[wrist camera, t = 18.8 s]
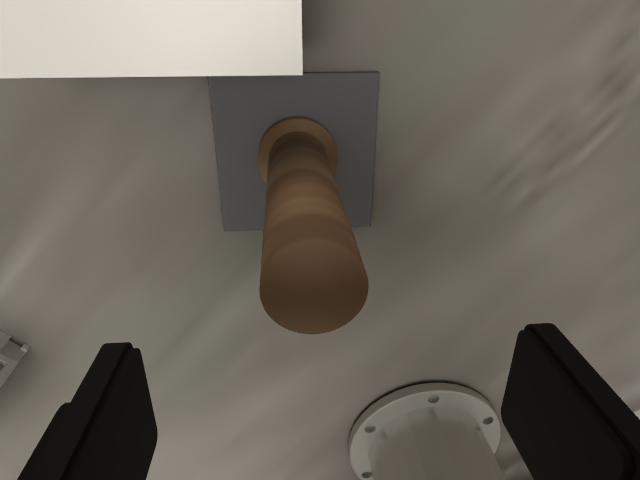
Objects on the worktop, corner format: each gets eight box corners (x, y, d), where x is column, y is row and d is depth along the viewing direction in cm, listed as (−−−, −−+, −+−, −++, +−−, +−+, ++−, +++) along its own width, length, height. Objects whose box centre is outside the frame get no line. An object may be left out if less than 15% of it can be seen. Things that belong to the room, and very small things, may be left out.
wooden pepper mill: (335, 190, 27) (383, 345, 15) (260, 193, 27) (244, 353, 14) (336, 115, 25) (393, 219, 13) (255, 116, 25) (232, 225, 12)
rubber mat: (369, 222, 29) (370, 226, 28) (224, 227, 28) (224, 231, 28) (377, 71, 25) (379, 72, 24) (208, 73, 24) (207, 74, 24)
